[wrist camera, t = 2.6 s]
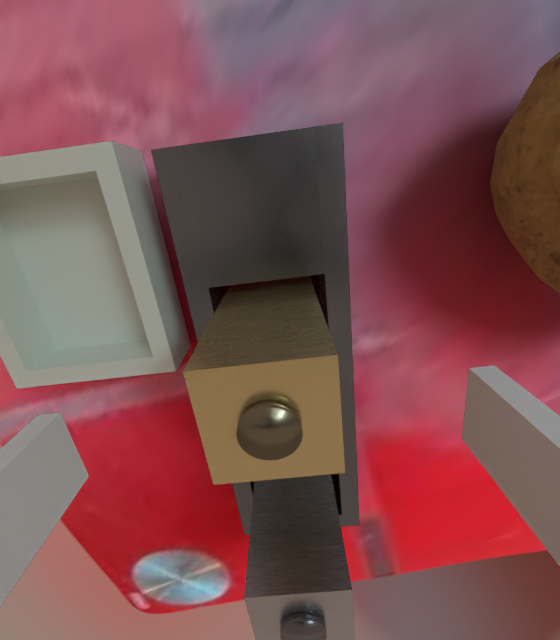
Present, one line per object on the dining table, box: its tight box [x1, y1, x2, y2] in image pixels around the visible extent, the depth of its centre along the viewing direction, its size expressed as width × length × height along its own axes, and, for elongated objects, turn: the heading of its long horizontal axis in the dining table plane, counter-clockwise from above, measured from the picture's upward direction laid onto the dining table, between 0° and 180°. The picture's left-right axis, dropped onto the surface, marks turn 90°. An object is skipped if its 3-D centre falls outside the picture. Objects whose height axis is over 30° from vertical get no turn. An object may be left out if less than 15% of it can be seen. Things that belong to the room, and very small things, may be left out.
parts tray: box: [0, 141, 191, 389], centre depth 17 cm, size 11×9×3 cm
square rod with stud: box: [244, 474, 355, 640], centre depth 18 cm, size 4×4×10 cm
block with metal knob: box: [183, 276, 345, 485], centre depth 14 cm, size 4×4×10 cm
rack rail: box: [151, 123, 360, 535], centre depth 19 cm, size 24×8×3 cm, turn 7°
